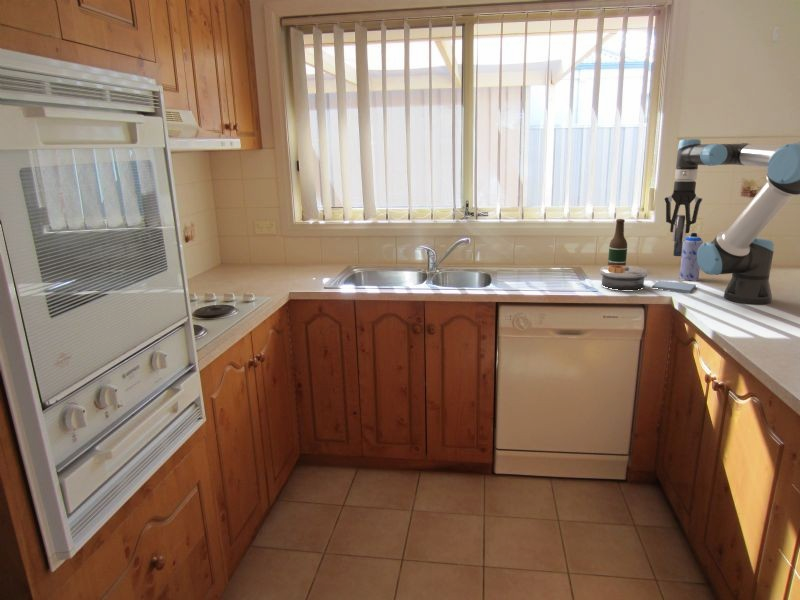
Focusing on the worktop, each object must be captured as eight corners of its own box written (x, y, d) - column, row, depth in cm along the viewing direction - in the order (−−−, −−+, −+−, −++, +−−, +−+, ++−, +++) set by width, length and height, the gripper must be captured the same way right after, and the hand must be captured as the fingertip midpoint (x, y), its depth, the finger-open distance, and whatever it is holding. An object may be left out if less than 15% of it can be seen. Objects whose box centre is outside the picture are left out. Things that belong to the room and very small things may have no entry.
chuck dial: (614, 268, 242) (615, 259, 241) (655, 274, 228) (656, 264, 227) (591, 274, 231) (592, 264, 230) (632, 281, 217) (633, 271, 216)
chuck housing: (647, 285, 233) (648, 273, 231) (637, 293, 220) (638, 280, 219) (608, 280, 242) (609, 269, 241) (596, 288, 229) (597, 276, 228)
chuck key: (675, 253, 226) (679, 214, 221) (683, 255, 224) (686, 215, 218) (671, 255, 224) (675, 215, 219) (678, 256, 222) (682, 216, 217)
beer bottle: (607, 272, 259) (611, 220, 253) (607, 268, 266) (611, 218, 260) (625, 272, 257) (630, 220, 251) (624, 269, 264) (629, 218, 258)
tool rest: (695, 287, 228) (695, 284, 227) (690, 293, 218) (690, 290, 218) (658, 283, 236) (658, 280, 235) (651, 288, 226) (652, 286, 226)
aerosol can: (702, 281, 238) (708, 234, 233) (683, 281, 238) (689, 234, 233) (693, 277, 246) (698, 231, 241) (675, 277, 246) (680, 231, 241)
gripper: (660, 180, 218) (654, 240, 224) (707, 181, 209) (699, 243, 215) (665, 179, 224) (659, 238, 230) (710, 180, 215) (702, 241, 220)
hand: (678, 240), depth 222 cm, fingers closed on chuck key, 3 cm apart
